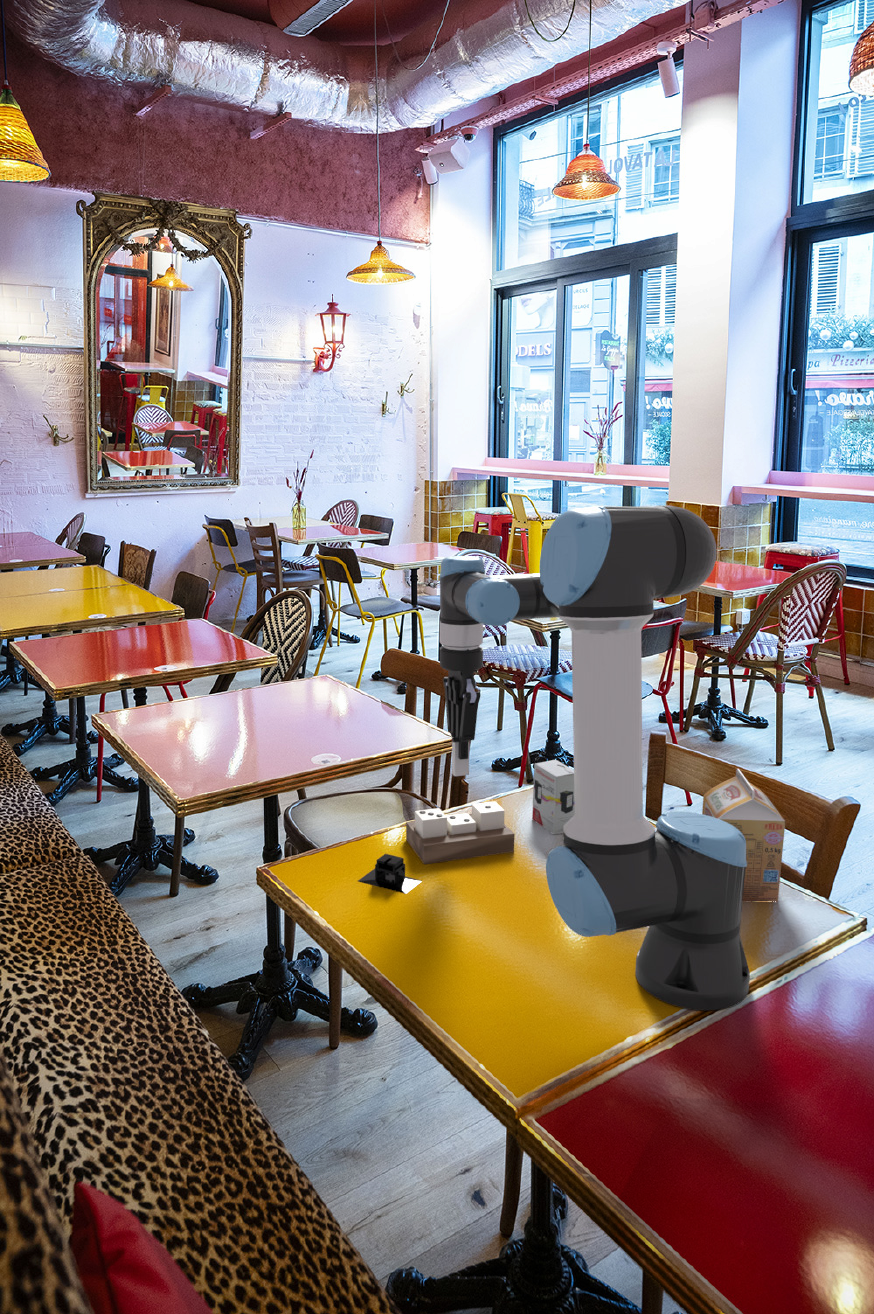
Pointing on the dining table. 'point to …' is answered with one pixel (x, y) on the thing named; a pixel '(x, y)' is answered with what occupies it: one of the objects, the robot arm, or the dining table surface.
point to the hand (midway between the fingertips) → (460, 774)
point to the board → (460, 844)
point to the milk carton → (751, 833)
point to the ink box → (553, 795)
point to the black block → (390, 875)
